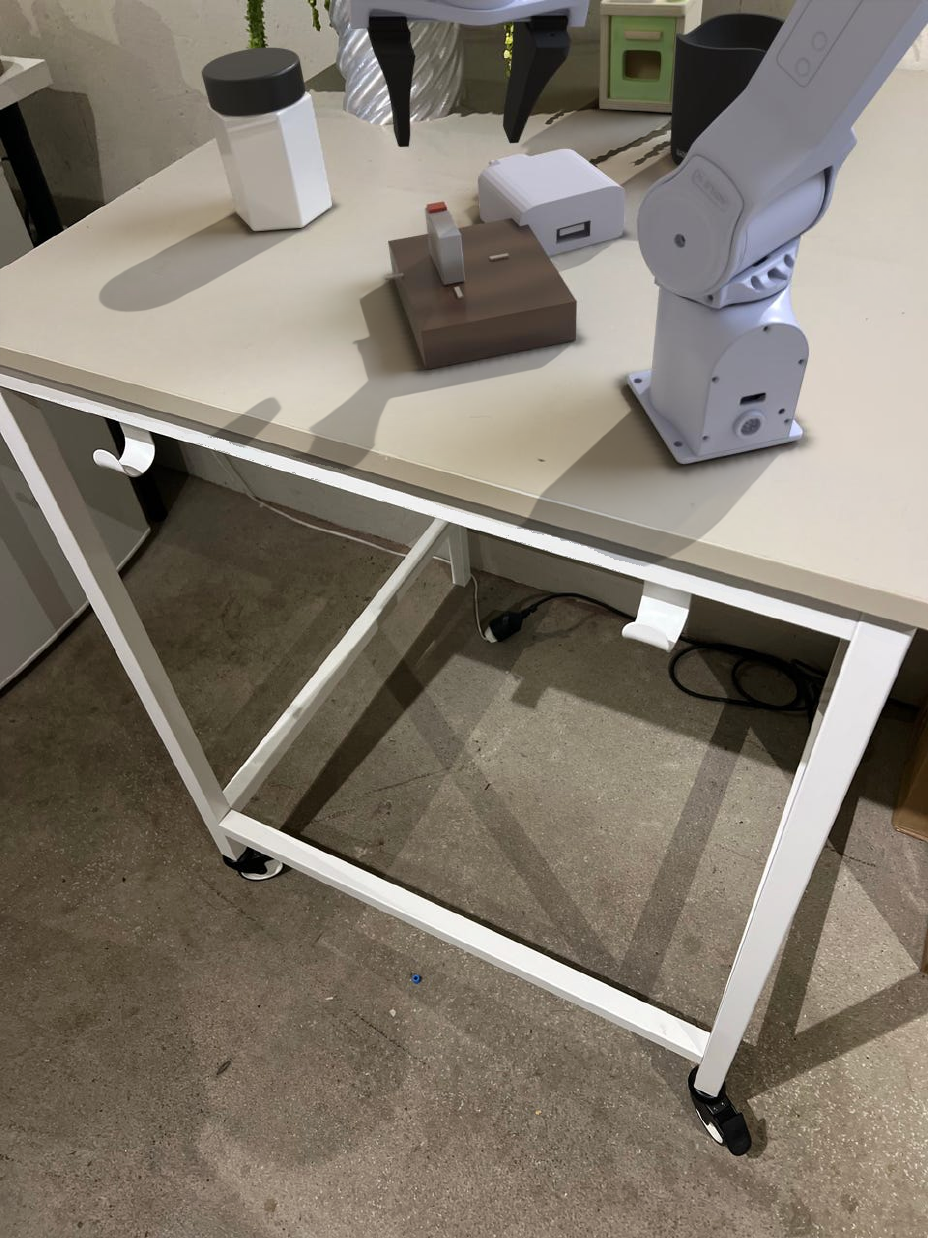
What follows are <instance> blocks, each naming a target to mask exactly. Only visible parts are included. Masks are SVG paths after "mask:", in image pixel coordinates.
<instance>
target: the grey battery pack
mask: <svg viewBox="0 0 928 1238" xmlns="http://www.w3.org/2000/svg"><path fill="white" fill-rule="evenodd" d="M424 214H425V223H426V231H427V233H426V234H428V242H429V250H430V254H431V257H432V259H433V261H434V264H435V266H436V268H437V271H438V273H439V275H440V278H441V280H442V282H443V284H444V285H448V284H453V283H458V282H463V281H465V276H464V265H463V253H462V241H461V234H460V232H459V230H458V228H459V227H458V225H457V224H456V221H455V220H454V218H453V216H452V214H451V211H450V210H449V208H448V206H447V204H446V203H445V201H438V202H433V203H428V204H426V206H425V207H424Z"/></svg>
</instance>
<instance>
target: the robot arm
mask: <svg viewBox="0 0 928 1238" xmlns="http://www.w3.org/2000/svg"><path fill="white" fill-rule="evenodd" d="M590 1H591V0H346V3H345V5H346V13H347V19H348V21H349V25H350V29H352V30H366V31H367V34H368V37H369V42H370V44H371V48H372V51H373V53H374V56H375V59H376V61H377V64H378V66H379V68H380V70H381V73H382V75H383V78H384V81H385V84H386V87H387V91H388V96H389V102H390V108H391V114H392V115H391V116H392V127H393V133H394V136H395V140H396V143H397V146H398V147H399V148H410V140H411V93H412V84H413V76H414V68H415V64H416V63H415V62H416V58H417V57H416V54H415V51H414V47H413V45H412V42H411V40H412V39H411V38H412V37H411V36H412V32H411V30H410V28H409V25H408V23H455V24H459V25H465V26H475V27H476V26H477V27H478V26H480V27H481V26H483V27H484V26H492V25H498V24H503V23H509V22H510V23H512V44H511V57H510V69H509V70H510V71H509V76H508V81H507V82H508V83H507V90H506V94H505V100H504V106H503V115H502V128H503V130H504V133H505V135H506V137H507V140H508V143H509V144H518V143H520V141H521V138H522V134H523V132H524V129H525V127H526V125H527V122H528V120H529V118H530V115H531V113H532V112H533V110H534V107H535V105H536V103H537V102H538V99H539V97H540V96H541V94H542V93H543V91H544V89H545V88H546V87H547V85H548V83H549V82H550V80H551V79H552V77H554V75H555V73H556V72H557V71H558V70H559V69H560V67H561V66H563V64H564V63H565V62H566V61H567V58H568V56H569V53H570V50H571V45H572V39H571V36H570V35H569V32H568V31H567V30H568V27H570V28H584V27H585V25H586V21H587V16H588V12H589V11H588V10H589V6H590ZM927 25H928V0H796V2H795V3H794V5H793V7H792V8H791V10H790V12H789V13H788V15H787V17H786V19H785V22H784V24H783V26H782V27H781V29H780V31H779V33H778V34H777V36H776V38H775V39H774V41H773V43H772V45H771V46H770V48H769V50H768V52H767V53H766V55H765V57H764V58H763V60H762V62H761V64H760V65H759V67H758V69H757V70H756V72H755V74H754V76H753V77H752V79H751V81H750V83H749V84H748V86H747V87H746V89H745V90H744V91H743V92H742V93H741V94H740V95H739V96H738V97H737V98H736V99H735V100H734V101H733V102H732V103H731V104H730V105H729V106H728V107H727V108H726V109H725V110H724V111H723V112H722V113H721V114H720V115H719V116H718V117H717V118H716V119H715V120H714V121H713V122H712V123H711V125H710V126H709V127H708V128H707V129H706V130H705V131H704V132H703V133H702V134H701V135H700V136H699V137H698V138H697V139H696V140H695V141H694V143H693V144H692V146H691V148H690V150H689V151H688V153H687V155H686V157H685V158H684V160H683V161H682V163H681V164H680V165H677V167H676V168H675V169H673V170H672V171H671V172H669V173H667V174H666V175H664V176H662V177H660V178H658V179H657V180H656V181H655V182H654V183H652V184H651V186H650V187H649V188H648V189H647V191H646V192H645V193H644V196H643V198H642V200H641V202H640V205H639V207H638V213H637V218H636V237H637V243H638V246H639V251H640V253H641V256H642V259H643V260H644V263H645V266H646V267H647V268H648V270H649V272H650V273H651V275H652V276H653V277H654V281H653V284H655V285H656V286H657V287H658V295H657V296H658V297H657V307H656V320H655V329H654V338H653V349H652V350H653V351H652V360H651V369H647V370H641V371H637V372H633V373H630V374H628V375H627V380H626V382H627V384H628V386H629V387H630V389H631V391H632V393H633V394H634V395H635V397H636V399H637V400H638V402H639V404H640V405H641V406H642V408H643V409H644V411H645V413H646V414H647V417H649V420H650V421H651V422H652V424H653V426H654V427H655V429H656V431H657V432H658V434H659V435H660V437H661V438H662V440H663V441H664V443H665V445H666V446H667V448H668V450H669V451H670V453H671V454H672V456H673V458H674V459H675V461H676V462H677V463H679V464H681V465H682V464H683V465H688V464H692V463H697V462H701V461H706V460H711V459H715V458H720V457H724V456H725V457H726V456H729V455H734V454H739V453H743V452H748V451H749V452H750V451H752V450H758V449H762V448H767V447H771V446H776V445H780V444H785V443H791V442H795V441H799V440H801V439H802V437H803V434H804V431H803V428H802V427H801V426H800V425H799V424H798V423H797V421H796V420H795V419H794V418H795V414H796V410H797V406H798V402H799V399H800V394H801V390H802V387H803V382H804V379H805V374H806V371H807V366H808V362H809V357H810V346H809V340H808V337H807V336H806V334H805V332H804V330H803V328H802V327H801V325H800V323H799V322H798V320H797V318H796V314H795V313H794V310H793V304H792V297H791V289H792V288H791V287H792V279H793V275H794V269H795V265H796V264H795V263H796V258H797V257H798V253H799V249H800V243H801V241H802V240H801V239H802V236H803V235H805V234H806V233H807V232H809V231H810V230H812V229H813V228H814V227H815V226H817V225H818V224H819V222H820V221H821V220H822V219H823V217H824V216H825V215H826V212H827V211H828V209H829V207H830V205H831V202H832V199H833V195H834V191H835V186H836V182H837V179H838V175H839V172H840V170H841V167H842V165H843V164H844V162H845V161H846V160H847V157H848V156H849V155H850V154H851V152H852V151H853V150H854V149H855V147H856V146H857V144H858V137H857V134H856V132H855V128H854V124H855V123H856V122H857V120H858V119H859V118H860V116H861V115H862V114H863V112H864V111H865V110H866V108H867V106H868V105H869V104H870V103H871V101H872V100H873V98H874V97H875V96H876V94H877V93H878V92H879V90H880V89H881V88H882V87H883V85H884V83H886V81H887V80H888V78H889V77H890V76H891V74H892V73H893V72H894V70H895V69H896V67H897V65H898V64H899V63H900V62H901V60H902V59H903V58H904V56H905V55H906V54H907V52H908V51H909V49H910V48H911V47H912V46H913V44H914V43H915V42H916V40H917V38H918V37H919V36H920V35H921V33H922V32H923V30H924V29H925V28H926V27H927Z"/></svg>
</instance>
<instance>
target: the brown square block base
mask: <svg viewBox="0 0 928 1238" xmlns="http://www.w3.org/2000/svg"><path fill="white" fill-rule="evenodd" d="M457 228H458V230H459V232H460V234H461V241H462V253H463V265H464V276H465V281H463V282H458V283H453V284H448V285H444V284H443V282H442V280H441V278H440V275H439V273H438V271H437V268H436V266H435V264H434V261H433V259H432V257H431V254H430V250H429V242H428V233H424V234H419V235H418V234H417V235H413V236H408V237H402V238H397V239H396V238H395V239H392V240H388V241H387V246H388V251H389V258H390V265H391V271H392V274H389V275H385V276H384V280H385V281H391V280H394V283H395V286H396V289H397V291H398V294H399V297H400V300H401V303H402V306H403V308H404V311H405V314H406V317H407V320H408V322H409V325H410V328H411V331H412V333H413V336H414V340H415V342H416V345H417V349H418V351H419V354H420V356H421V359H422V362H423V364H424V367H425V370H433V369H438V368H443V367H448V366H451V365H458V364H463V363H467V362H472V361H477V360H482V359H487V358H492V357H498V356H502V355H508V354H513V353H517V352H523V351H527V350H533V349H538V348H543V347H548V346H553V345H558V344H562V343H567V342H573V341H577V313H578V312H577V310H578V307H577V306H578V301H577V300H576V298H575V297H574V294H573V293H572V291H571V289H570V288H569V287H568V285H567V283H566V282H565V280H564V279H563V277H562V276H561V274H560V272H559V271H558V269H557V268H556V266H555V264H554V263H553V261H552V260H551V258H550V256H548V255H547V253H546V252H545V250H544V248H543V247H542V245H541V244H540V242H539V240H538V239H537V237H536V236H535V234H534V233H533V231H532V229H531V228H530V226H529V225H528V224H527V225H523V226H519V225H518V224H517V223H516V222H515V221H514V220H513V219H512V218H510V219H504V220H499V221H494V222H488V223H484V222H483V223H479V224H473V225H467V226H462V227H457Z"/></svg>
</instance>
